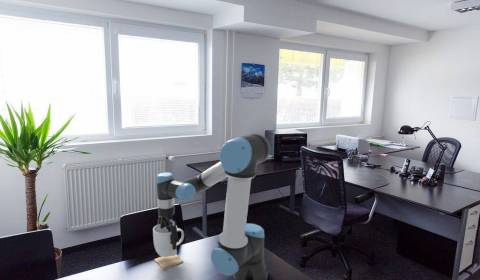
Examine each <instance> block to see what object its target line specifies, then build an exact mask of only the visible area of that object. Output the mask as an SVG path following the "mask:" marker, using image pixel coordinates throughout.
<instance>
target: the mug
mask: <svg viewBox="0 0 480 280" xmlns="http://www.w3.org/2000/svg"><path fill="white" fill-rule="evenodd" d="M157 224H158V223H157ZM157 224H156V225H155V226H153V228H152V237H153V239H152V240H153V246H154V249H155V251H156V253H157V254H158V256H159V257H168V256H171V250H170V243H171V240H170V235H171V232H168V229H166V227H164V228H162V229H161V227H160V225H161V224H158V225H157ZM168 227H169V226H168ZM176 228H177V233H178V232H180V233H181V237H180V239H179V242H178V243H176V246H179V245H181V243H182V242H183V241H184V237H185V232H184V230H183V229H181V228H180V227H179V228H178V226H177V224H176Z"/></svg>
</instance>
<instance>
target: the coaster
mask: <svg viewBox="0 0 480 280" xmlns="http://www.w3.org/2000/svg"><path fill="white" fill-rule="evenodd" d="M154 261H155V262H156V264H157V265H158V266H159V267H160V268H161V269H162V270H163V271H165V270H167V269H169V268H173V267H175V266H177V265H180V264H182V263H184V260H183V258H181V257H179V255H178V254H176V255H174V256H168V257H162V256H159V257H157V258H154Z"/></svg>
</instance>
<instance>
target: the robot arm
mask: <svg viewBox="0 0 480 280" xmlns="http://www.w3.org/2000/svg"><path fill="white" fill-rule="evenodd" d="M270 154H271V145H270V142H269V140H268V139H267V138H266V137H265V136H263V135H262V134H259V133H253V134H249V135H244V136H243V135H242V136H238V137H233V138H232V139H229V140H227V141H226V142H225V143H224V144H223V145H222V146H221V148H220V152H219V161H218V162H217V163H215V164H214V165H212V166H210V167H209V168H208V169H206V170H205V171H203V172H201V173H199V174H198V175H196V176H192V177H189V178H187V179H183V180H176V179H174V178H175V176H174V174H173V173H172V172H169V171H167V172H166V171H165V172H161V173H158V174H157V175H156V195H157V197H156V199H157V201H156V202H157V215H158V217H157V218H158V219H157V223H156V225H158V224H161V225H160V227H161V229H162V228H164V227H166V229H168V232H171V235H170V240H171V243H170V250H171V256H174V255H178V251H177V246H178V245H177V246H176V243H178V242H179V240H180V239H179V235H178V234H179V233H178V232H177V228H178V227H177V228H176V225H177V221H176V220H174V219H173V216H174V215H175V213H176V211H175V210H176V208H175V207H176V206H175V200H176V199H177V200H180V201H184V202H188V201H189V202H190V201H191V200H193V198H194V197H196V194H198V193H201V192H203V191H206V190H208V189H210V188H212V187H213V185H216V184H217V183H219V182H221V181H222V180H224V179H226V178H227V185H226V194H225V195H226V197H225V207H224V218H223V228H222V232H221V233H220V234H219V235H218V238H217V246H216V247H214V248H213V250H212V251H211V253H210V259H211V262H212V265H213V267H214V268H215V269H216V270H217V271H218V272H219V273H220V274H221V275H224V276H230V277H231V276H233V279H234V280H268V278H269V277H268V273H269V272H268V268H267V265H266V262H265V229H264V228H263V227H262V226H261V225H258V224H256V223H247V217H248V211H249V201H250V192H251V183H252V179H254V178H255V177H256V175H257V168H258V165H259V164H262V163H264V162H265V161H266V160H267V159H268V158H269V156H270ZM168 226H169V227H168Z"/></svg>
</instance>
